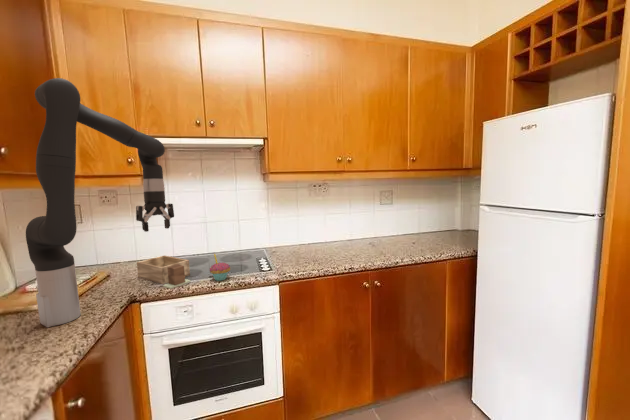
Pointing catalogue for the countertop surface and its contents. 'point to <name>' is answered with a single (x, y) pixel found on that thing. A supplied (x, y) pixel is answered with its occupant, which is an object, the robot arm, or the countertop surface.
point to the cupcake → (219, 270)
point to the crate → (160, 268)
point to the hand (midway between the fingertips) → (156, 229)
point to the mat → (175, 285)
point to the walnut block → (176, 274)
